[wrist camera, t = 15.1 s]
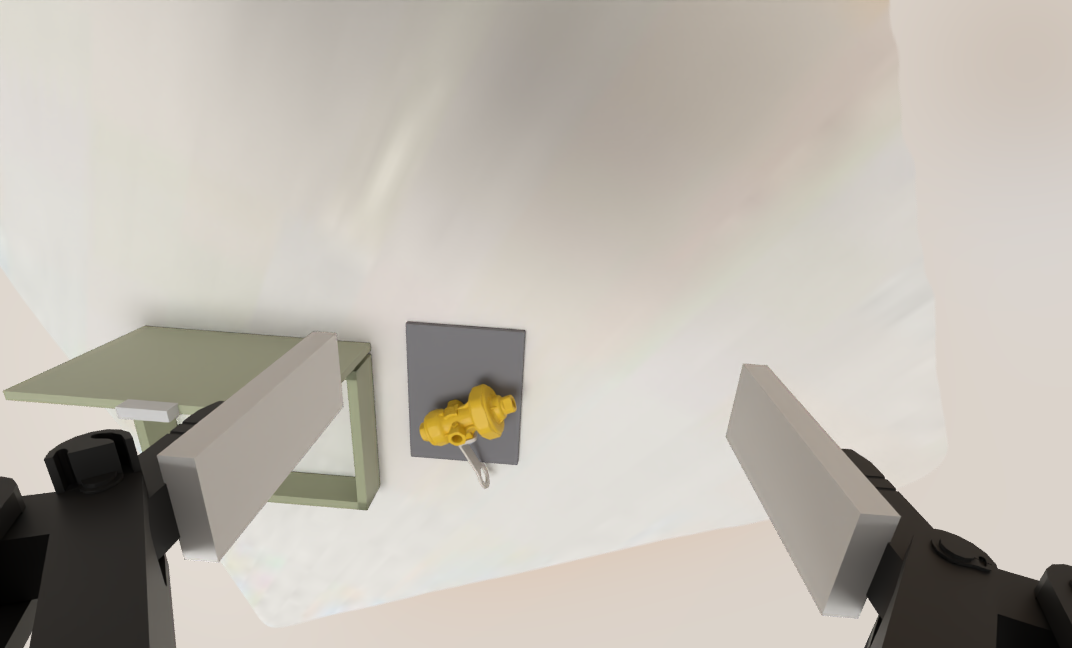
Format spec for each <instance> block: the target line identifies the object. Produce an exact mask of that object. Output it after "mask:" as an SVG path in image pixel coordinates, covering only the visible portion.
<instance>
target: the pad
mask: <svg viewBox="0 0 1072 648" xmlns="http://www.w3.org/2000/svg"><path fill="white" fill-rule="evenodd" d="M406 343H407V369H408V395H409V420H410V446H411V456H412V457H424V458H437V459H449V460H461V461H468V460H467V458H466V457H465V455H464V454H463V452H462V451H461V449H460V448H459V446H455V445H453V444H451V443H448V444H446V445H443V446H434V445H432V444H431V443H430V442H429V441H428V442H427V441H424V440H423V439H422V437H421V435H420V431H419V428H420V424H421V423H423V422H424V418H425V416H426V415H427V414H428V413H429V412H430V411H433V410H436V409H444V410H445V408H447V404H448V402H449V401H452V400H459V401H461V402H462V403H463V404H466V403H467V402H468V398H469V394H470V392H471V390H472V388H473V387H475V386H478V385H481V384H485V385H487V386H489V387H491V388H492V389H493V390H494V392H495V393H496V395H500V396H501V397H504V396H507V395H512V396H513V397H514V400H515V402H516V407H517V410H516V411H515V412H513V413H510V414H507V417H506V418H505V419H504V430H503V432H502V435H501V436H500V437H498V438H495V439H492V440H489V439H486V438H484V437H482V436H481V435H480V434H479V433H478V435H477V440H476V441H474V442H473V443H472V444H469V446H470V447H471V449H472V450H473V452H474V454H475V455H476V457H477V458H478V460H479V461H480V462H486V463H498V464H510V465H517V464H518V450H519V432H520V415H521V397H522V379H523V361H524V343H525V330H512V329H499V328H485V327H472V326H458V325H445V324H431V323H418V322H407V323H406Z"/></svg>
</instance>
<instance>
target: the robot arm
mask: <svg viewBox="0 0 1072 648" xmlns="http://www.w3.org/2000/svg"><path fill="white" fill-rule="evenodd" d="M343 407H344V406H343V395H342V385H341V374H340V364H339V353H338V343H337V333H330V332H317V331H313V332H312V333H311V334H309V335H308V336H307V337H305V338H304V339H303V340H302V341H300V342H299V343H298V344H297V345H295V346H294V347H293V348H292V349H290V350H289V351H288V352H287V353H285V354H284V355H283V356H281V357H280V358H279V359H278V360H276V361H275V362H274V363H273V364H271V365H270V366H269V367H268V368H266V369H265V370H264V371H263V372H261V373H260V374H259V375H258V376H256V377H255V378H254V379H252V380H251V381H250V382H249V383H247V384H246V385H245V386H244V387H242V388H241V389H240V390H239V391H237V392H236V393H235V394H234V395H232V396H231V397H230V398H228V399H227V400H226V401H217V402H215V403H213V404H210V405H208V406H206V407H204V408H202V409H199V410H198V411H196V412H195V413H194V414H192V415H191V416H190V417H188V418H187V419H186V420H184V421H183V423H182V424H179V425H178V426H176V427H175V428H174V429H172V430H171V431H170V434H166V435H165V436H163V437H162V438H161V439H159V440H158V441H157V442H155V443H154V444H153V445H151V446H150V447H149V448H147V449H146V450H145V451H143V452H142V453H141V454H139V455H137V451H136V448H135V444H134V441H133V437H132V436H131V434H130V432H127V431H123V430H111V429H107V430H101V431H95V432H90V433H87V434H84V435H80V436H77V437H74V438H72V439H70V440H68V441H65V442H63V443H61V444H59V445H58V446H56V447H55V448H54V449H52V450H51V451H49V453H48V454H47V455H46V457H45V459H44V461H45V464H46V467H47V469H48V472H49V475H50V477H51V480H52V483H53V485H54V488H55V491H56V492H52V493H43V494H36V495H27V496H21V493H20V491H19V488H18V486H17V484H16V482H15V481H14V480H13V479H12V478H7V477H0V648H23V647H24V645H25V643H26V642H27V640H28V638H29V636H30V634H31V632H32V635H31V641H30V647H29V648H176V642H175V632H174V631H175V630H174V620H173V609H172V598H171V587H170V576H169V566H168V561H167V558H166V554H165V553H166V552H167V551H168V549H170V548H171V546H172V545H173V544H174V543H175V542H176V541H177V540H178V539H179V541H180V545H181V549H182V552H183V556H184V559H185V560H195V561H208V562H219V561H220V560H221V559H222V557H223V556H224V555H225V554H226V552H227V551H228V550H229V549H230V547H231V546H232V545H233V544H234V542H235V541H236V540H237V539H238V537H239V536H240V535H241V534H242V533H243V531H244V530H245V529H246V528H247V526H248V525H249V524H250V523H251V521H252V520H253V519H254V518H255V516H256V515H257V514H258V513H259V511H260V510H261V509H262V508H263V506H264V505H265V504H266V503H267V501H268V500H269V499H270V498H271V496H272V495H273V494H274V493H275V491H276V490H277V489H278V488H279V486H280V485H281V484H282V483H283V481H284V480H285V479H286V478H287V476H288V475H289V474H290V473H291V471H292V470H293V469H294V468H295V466H296V465H297V464H298V463H299V461H300V460H301V459H302V458H303V457H304V455H305V454H306V453H307V452H308V450H309V449H310V448H311V447H312V445H313V444H314V443H315V442H316V440H317V439H318V438H319V437H320V435H321V434H322V433H323V432H324V430H325V429H326V428H327V427H328V425H329V424H330V423H331V422H332V420H333V419H334V418H335V417H336V415H337V414H338V413H339V412H340V410H341V409H342V408H343ZM726 438H727V440H728V442H729V444H730V446H731V448H732V450H733V451H734V453H735V455H736V457H737V459H738V461H739V463H740V464H741V466H742V468H743V470H744V472H745V474H746V476H747V477H748V479H749V481H750V483H751V485H752V487H753V489H754V490H755V492H756V494H757V496H758V498H759V500H760V502H761V503H762V505H763V507H764V509H765V511H766V513H767V514H768V516H769V518H770V520H771V522H772V524H773V526H774V527H775V529H776V531H777V533H778V535H779V537H780V539H781V540H782V542H783V544H784V546H785V547H786V550H787V552H788V553H789V555H790V557H791V559H792V561H793V563H794V564H795V566H796V568H797V570H798V572H799V574H800V576H801V578H802V579H803V581H804V583H805V585H806V587H807V589H808V591H809V592H810V594H811V596H812V598H813V600H814V602H815V603H816V605H817V607H818V609H819V611H820V613H821V615H823V616H833V617H845V618H857V619H858V618H859V616H860V613H861V611H862V609H863V606H864V604H865V601H866V599H867V597H868V598H869V600H870V602H871V603H872V605H873V607H874V608H875V610H876V611H877V613H878V614H879V615H878V618H877V620H876V622H875V624H874V627H873V629H872V631H871V634H870V636H869V638H868V640H867V643H866V645H865V647H864V648H1072V566H1069V565H1065V564H1056V565H1055V564H1053V565H1051V566H1050V567H1048V568H1047V569H1046V571H1045V572H1044V574H1043V576H1042V577H1041V579H1040V581H1038V580H1034V579H1031V578H1028V577H1024V576H1020V575H1017V574H1014V573H1010V572H1007V571H1003V570H1000V569H998V568H997V565H996V564H995V563H994V562H993V560H992V559H991V558H990V557H989V556H988V555H987V554H986V553H985V552H983V551H982V550H981V549H979V548H978V547H977V546H975V545H974V544H973V543H971V542H969V541H967V540H965V539H963V538H961V537H959V536H957V535H955V534H952V533H949V532H946V531H943V530H938V529H933V528H932V527H931V525H929V523H928V522H927V521H926V520H925V519H924V518H923V517H922V516H921V515H920V514H919V513H918V512H917V511H916V510H915V508H914V507H913V506H912V505H911V504H910V503H909V502H908V501H907V500H906V499H905V498H904V497H903V496H902V495H901V494H900V493H899V492H897V491H896V488H895V487H894V486H893V485H892V484H891V483H890V482H889V481H888V480H886V479H885V477H884V475H883V474H882V473H881V472H880V471H879V470H878V469H877V468H876V467H875V466H874V465H873V464H872V463H871V462H870V461H868V460H867V459H865V458H864V457H862V456H861V455H859V454H858V453H856V452H855V451H853V450H851V449H841V448H840V447H839V446H838V445H837V444H836V443H835V442H834V440H833V439H832V438H831V437H830V436H829V435H828V434H827V433H826V431H825V430H824V429H823V428H822V427H821V426H820V425H819V423H818V422H817V421H816V420H815V419H814V418H813V417H812V416H811V414H810V413H809V412H808V411H807V410H806V409H805V408H804V406H803V405H802V404H801V403H800V402H799V401H798V400H797V399H796V397H795V396H794V395H793V394H792V393H791V392H790V391H789V390H788V388H787V387H786V386H785V385H784V384H783V383H782V382H781V380H780V379H779V378H778V377H777V376H776V375H775V374H774V373H773V371H772V370H771V369H770V368H769V367H768V366H767V365H755V364H743V365H742V370H741V374H740V378H739V382H738V387H737V391H736V395H735V399H734V404H733V408H732V412H731V416H730V420H729V425H728V429H727V433H726Z"/></svg>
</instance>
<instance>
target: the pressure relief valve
mask: <svg viewBox="0 0 1072 648" xmlns="http://www.w3.org/2000/svg"><path fill="white" fill-rule="evenodd" d="M516 410H517V407H516V402H515V400H514V397H513V396H512V395H507V396H504V397H501V396H500V395H496V393H495V392H494V390H493V389H492V388H491V387H489V386H487V385H485V384H481V385H478V386H475V387H473V388H472V390H471V392H470V394H469V398H468V402H467V403H466V404H463V403H462V402H461V401H459V400H452V401H449V402H448V404H447V408H445V410H444V409H436V410H433V411H430V412H429V413H428V414H427V415H426V416H425V418H424V422H423V423H421V424H420V428H419V431H420V435H421V437H422V439H423V440H424V441H427V442H428V441H429V442H430V443H431V444H432V445H434V446H443V445H446V444H448V443H451V444H453V445H455V446H459V448H460V449H461V451H462V452H463V454H464V455H465V457H466V458H467V460H468V461H469V463H470V464H471V466H472V468H473V469H474V471H475V472H476V474H477V477H478V480H479V482H480V485H481V486H482V487H483V488H484V489H487V488H488V487H489V484H490V480H489V474H488V471H487V468H486V466H485V465H484V463H482V462H480V461H479V460H478V458H477V457H476V455H475V454H474V452H473V450H472V449H471V447H470V446H469V444H472V443H473V442H474V441H476V440H477V435H478V433H479V434H480V435H481V436H482V437H484V438H486V439H489V440H492V439H495V438H498V437H500V436H501V435H502V432H503V430H504V419H505V418H506V417H507V414H510V413H513V412H515V411H516ZM481 468H482V469H483V471H484V473H485V477H486V482H485V483H484V481H483V480H482V477H481Z"/></svg>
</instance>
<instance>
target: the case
mask: <svg viewBox="0 0 1072 648" xmlns="http://www.w3.org/2000/svg"><path fill="white" fill-rule="evenodd" d="M303 339H304V338H296V337H283V336H270V335H257V334H243V333H230V332H217V331H204V330H191V329H177V328H164V327H151V326H143V327H141V328H139V329H137V330H134V331H132V332H130V333H128V334H126V335H124V336H121V337H119V338H117V339H115V340H113V341H110V342H108V343H106V344H104V345H102V346H100V347H97V348H95V349H93V350H91V351H89V352H87V353H84V354H82V355H80V356H78V357H76V358H73V359H71V360H69V361H67V362H65V363H63V364H60V365H58V366H56V367H54V368H52V369H50V370H47V371H45V372H43V373H41V374H39V375H37V376H34V377H32V378H30V379H28V380H26V381H24V382H21V383H19V384H17V385H15V386H13V387H10V388H8V389H6V390H4V391H3V393H4V395H5V398H6V400H15V401H26V402H39V403H51V404H64V405H77V406H90V407H101V408H114V409H116V413H117V416H118V418H119V419H131V420H134V423H135V427H136V431H137V434H138V438H139V442H140V445H141V449H142V452H143V451H145V450H146V449H147V448H149V447H150V446H151V445H153V444H154V443H155V442H157V441H158V440H159V439H161V438H162V437H163V436H165V435H166V434H170V431H171V430H172V429H174V428H175V427H176V426H177V422H176V417H178V416H179V415H180V414H188V415H192V414H194V413H195V412H196V411H198V410H199V409H202V408H204V407H206V406H208V405H210V404H213V403H215V402H217V401H226V400H227V399H228V398H230V397H231V396H232V395H234V394H235V393H236V392H237V391H239V390H240V389H241V388H242V387H244V386H245V385H246V384H247V383H249V382H250V381H251V380H252V379H254V378H255V377H256V376H258V375H259V374H260V373H261V372H263V371H264V370H265V369H266V368H268V367H269V366H270V365H271V364H273V363H274V362H275V361H276V360H278V359H279V358H280V357H281V356H283V355H284V354H285V353H287V352H288V351H289V350H290V349H292V348H293V347H294V346H295V345H297V344H298V343H299V342H300V341H302V340H303ZM337 343H338V353H339V364H340V374H341V383H342V382H343V381H344V380H347V389H348V400H349V411H350V422H351V433H352V444H353V455H354V466H355V477H349V476H337V475H324V474H312V473H300V472H291V473H290V474H289V475H288V476H287V478H286V479H285V480H284V481H283V483H282V484H281V485H280V486H279V488H278V489H277V490H276V491H275V493H274V494H273V495H272V496H271V498H270V499H269V500H268V501H267V502H274V503H286V504H298V505H310V506H322V507H334V508H346V509H357V510H368V508H369V506H370V504H371V502H372V500H373V499H374V497H375V495H376V493H377V491H378V489H379V487H380V479H379V464H378V450H377V435H376V420H375V406H374V391H373V376H372V362H371V354H368V353H369V351H370V350H371V347H370V343H362V342H349V341H337Z"/></svg>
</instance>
